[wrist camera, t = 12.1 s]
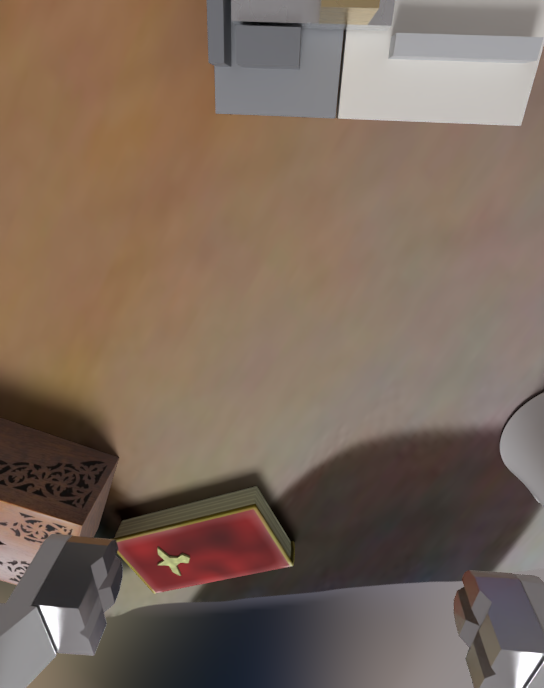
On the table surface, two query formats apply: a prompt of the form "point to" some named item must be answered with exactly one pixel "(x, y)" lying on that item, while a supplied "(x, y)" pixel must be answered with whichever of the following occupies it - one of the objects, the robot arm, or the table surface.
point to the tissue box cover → (46, 492)
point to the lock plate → (385, 64)
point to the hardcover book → (205, 541)
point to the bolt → (315, 14)
